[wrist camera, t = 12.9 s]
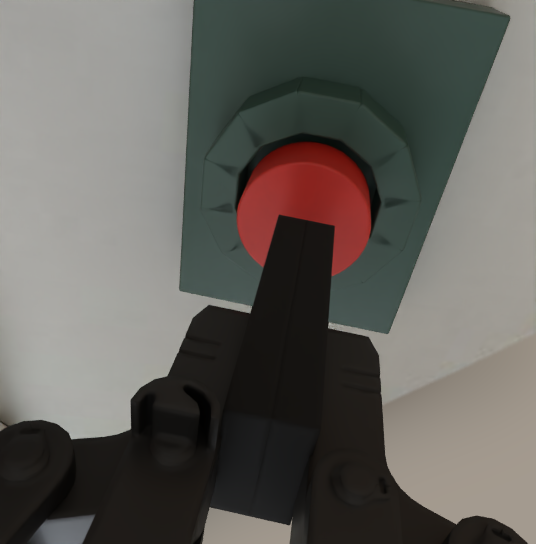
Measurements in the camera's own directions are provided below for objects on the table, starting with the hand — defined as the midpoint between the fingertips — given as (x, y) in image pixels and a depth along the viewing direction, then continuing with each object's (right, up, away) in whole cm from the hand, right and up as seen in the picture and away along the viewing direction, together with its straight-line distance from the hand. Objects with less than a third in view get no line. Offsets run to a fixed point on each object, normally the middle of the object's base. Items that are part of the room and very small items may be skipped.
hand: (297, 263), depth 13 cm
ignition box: (+1, +4, +5) cm, 7 cm away
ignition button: (0, +2, +3) cm, 3 cm away
